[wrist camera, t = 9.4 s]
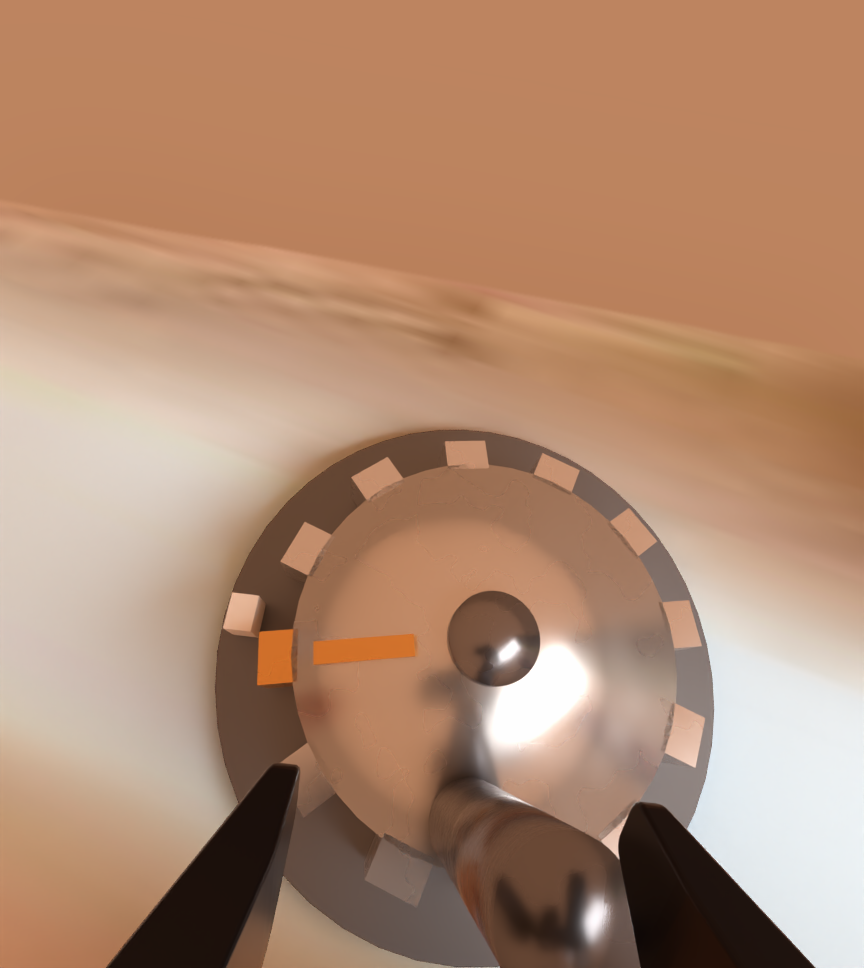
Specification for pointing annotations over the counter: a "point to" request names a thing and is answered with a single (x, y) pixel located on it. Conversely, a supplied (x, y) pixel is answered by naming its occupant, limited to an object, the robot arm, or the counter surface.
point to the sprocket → (488, 694)
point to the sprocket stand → (279, 733)
